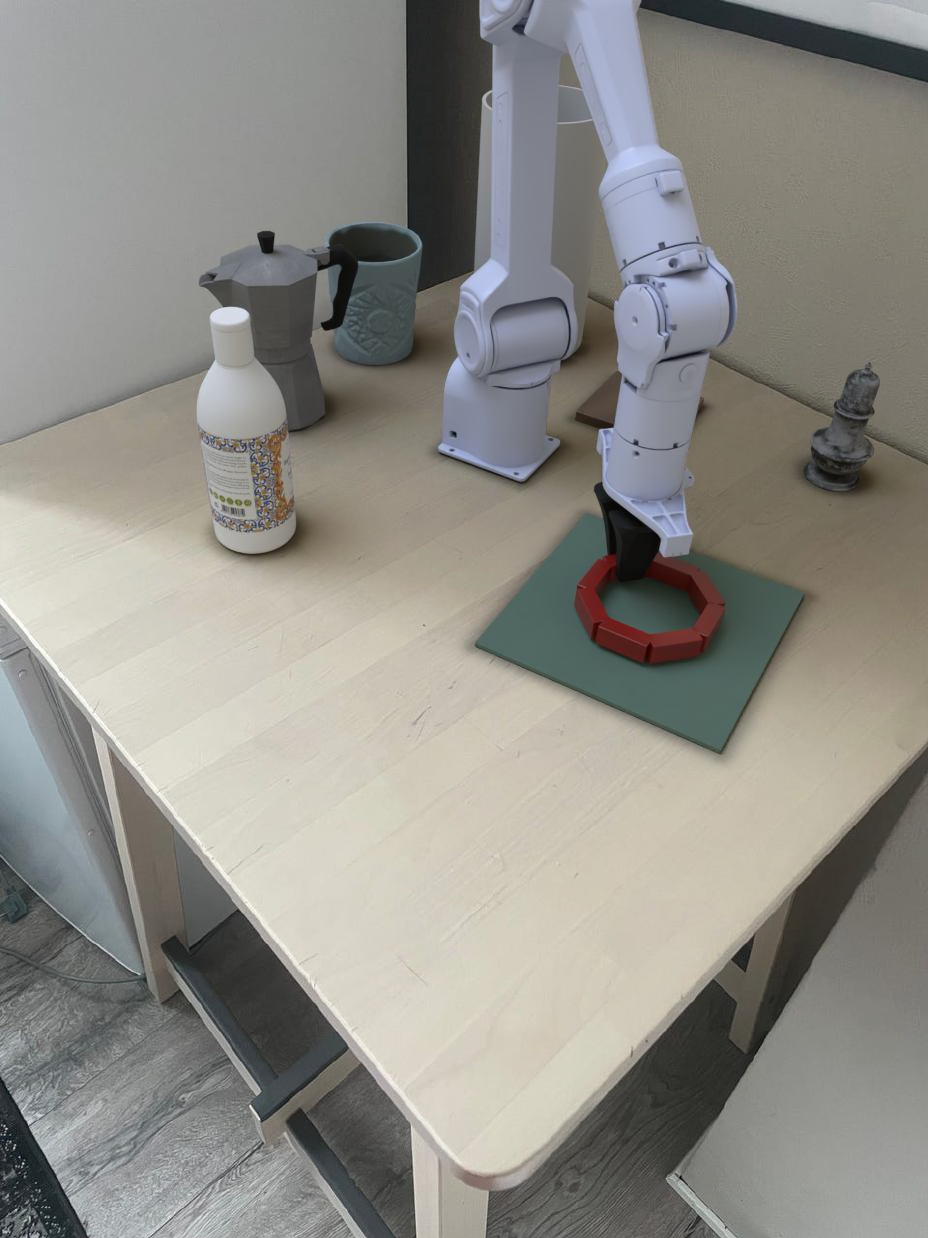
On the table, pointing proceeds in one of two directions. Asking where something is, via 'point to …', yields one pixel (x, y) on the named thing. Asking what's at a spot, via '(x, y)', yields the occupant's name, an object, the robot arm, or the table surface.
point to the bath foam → (244, 442)
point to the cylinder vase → (557, 193)
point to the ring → (641, 642)
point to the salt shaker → (845, 435)
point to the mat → (660, 692)
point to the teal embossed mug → (377, 291)
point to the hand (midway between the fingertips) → (625, 570)
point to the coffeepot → (284, 312)
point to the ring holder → (605, 404)
